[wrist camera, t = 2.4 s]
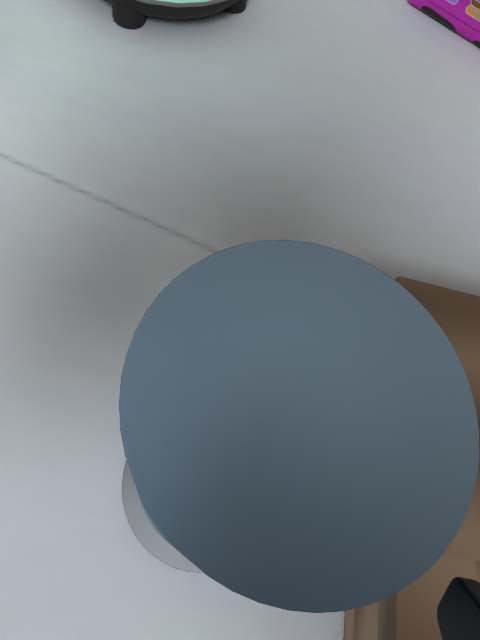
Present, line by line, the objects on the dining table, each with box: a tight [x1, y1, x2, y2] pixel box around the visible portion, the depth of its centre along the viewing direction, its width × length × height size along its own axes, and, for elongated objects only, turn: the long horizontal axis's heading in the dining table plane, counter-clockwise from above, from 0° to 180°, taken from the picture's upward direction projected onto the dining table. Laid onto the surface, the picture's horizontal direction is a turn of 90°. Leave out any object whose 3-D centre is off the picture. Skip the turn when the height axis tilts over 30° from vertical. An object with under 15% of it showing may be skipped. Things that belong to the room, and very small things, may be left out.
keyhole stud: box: [119, 240, 479, 613], centre depth 12 cm, size 6×6×13 cm
